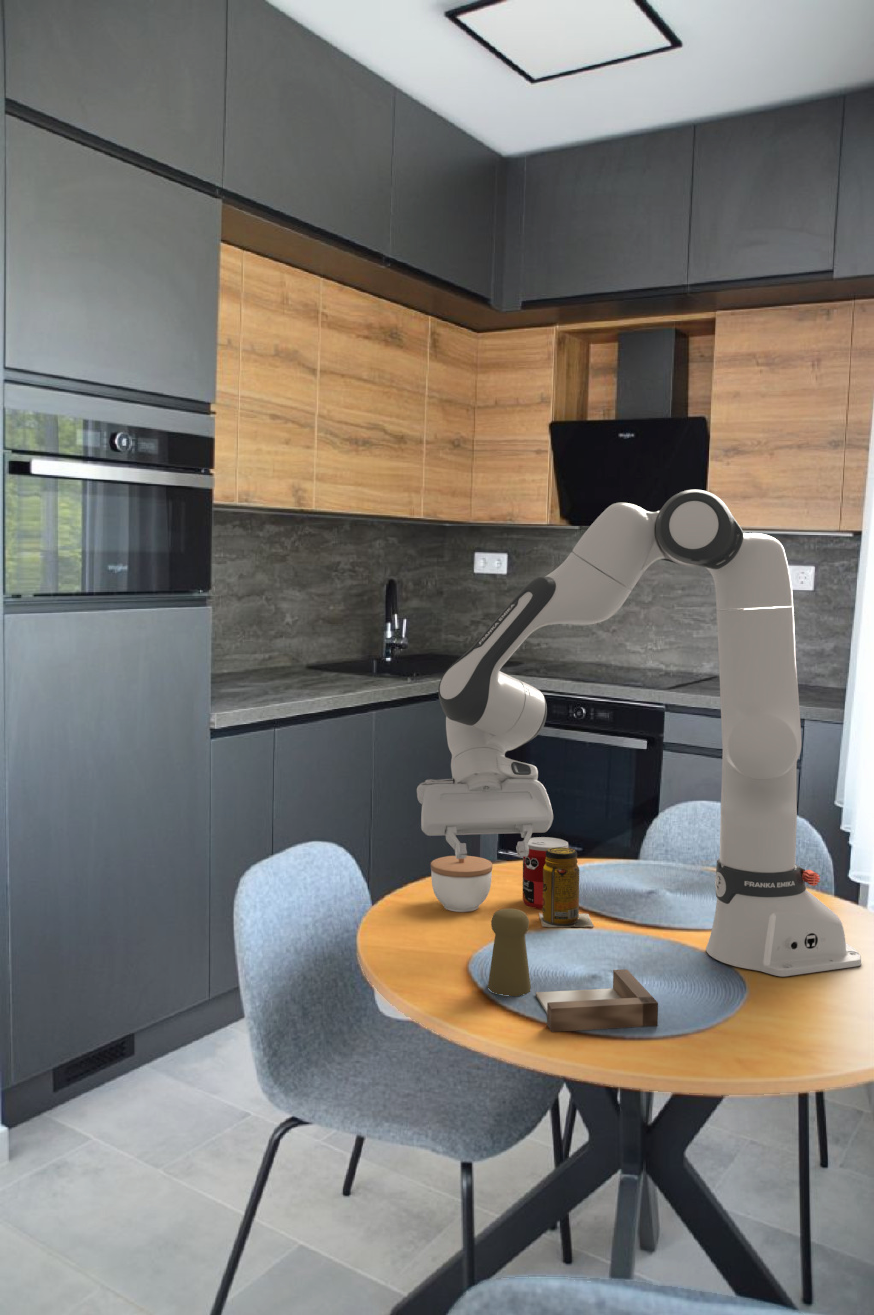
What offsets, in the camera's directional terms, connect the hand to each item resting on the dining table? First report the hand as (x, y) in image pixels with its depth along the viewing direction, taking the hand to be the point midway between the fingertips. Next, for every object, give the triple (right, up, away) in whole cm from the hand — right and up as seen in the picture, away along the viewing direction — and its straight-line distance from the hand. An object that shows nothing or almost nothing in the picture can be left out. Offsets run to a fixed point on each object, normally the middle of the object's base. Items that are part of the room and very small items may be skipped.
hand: (492, 855), depth 160 cm
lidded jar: (-4, -14, +27) cm, 30 cm away
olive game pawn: (+2, -17, -11) cm, 20 cm away
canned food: (+11, -14, +29) cm, 34 cm away
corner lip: (+12, -17, -18) cm, 28 cm away
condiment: (+13, -15, +19) cm, 28 cm away
